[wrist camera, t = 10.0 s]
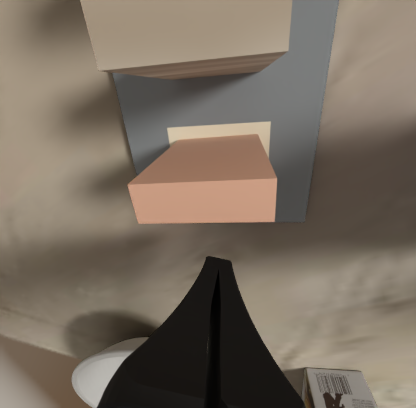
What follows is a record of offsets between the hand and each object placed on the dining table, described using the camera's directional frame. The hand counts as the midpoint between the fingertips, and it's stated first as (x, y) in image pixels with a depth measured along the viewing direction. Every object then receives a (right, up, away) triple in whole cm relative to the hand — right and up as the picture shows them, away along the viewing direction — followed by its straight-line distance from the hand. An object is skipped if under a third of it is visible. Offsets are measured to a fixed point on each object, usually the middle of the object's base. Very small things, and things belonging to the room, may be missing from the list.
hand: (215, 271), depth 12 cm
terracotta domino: (0, +7, +2) cm, 8 cm away
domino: (0, +12, 0) cm, 12 cm away
